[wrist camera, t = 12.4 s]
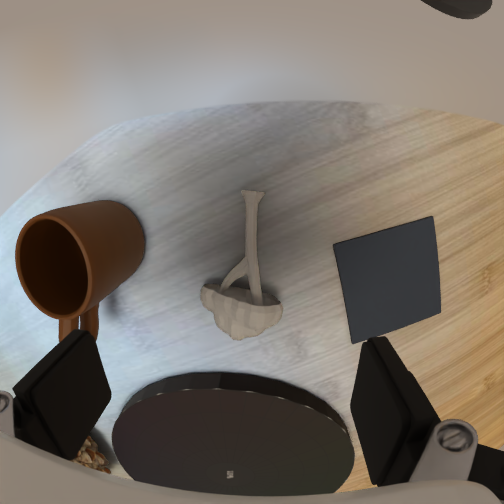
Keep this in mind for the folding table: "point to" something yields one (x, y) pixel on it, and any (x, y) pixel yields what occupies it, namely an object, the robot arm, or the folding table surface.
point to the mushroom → (242, 300)
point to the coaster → (389, 278)
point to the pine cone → (91, 457)
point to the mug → (77, 260)
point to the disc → (233, 437)
